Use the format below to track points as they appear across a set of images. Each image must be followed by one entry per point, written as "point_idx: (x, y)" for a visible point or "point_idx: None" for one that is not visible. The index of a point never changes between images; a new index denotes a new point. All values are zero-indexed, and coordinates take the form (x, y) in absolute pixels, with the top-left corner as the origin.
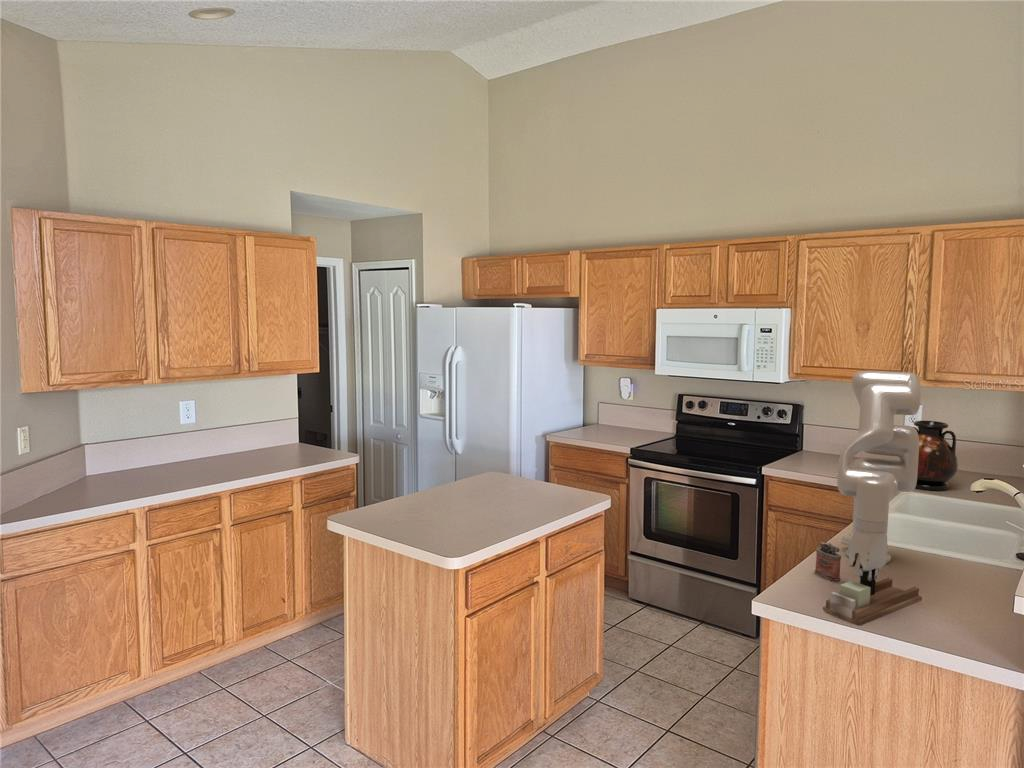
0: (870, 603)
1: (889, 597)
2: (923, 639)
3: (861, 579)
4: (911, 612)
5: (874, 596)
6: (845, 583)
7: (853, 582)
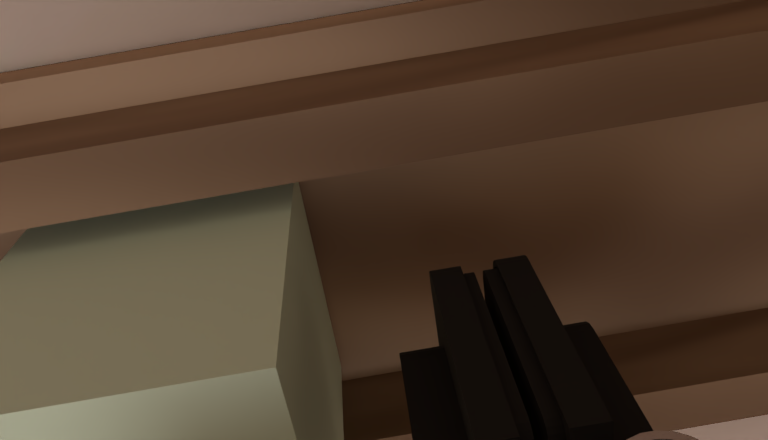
0: (510, 253)
1: (697, 397)
2: None
3: (468, 432)
4: (730, 423)
5: (751, 127)
6: (14, 424)
7: (225, 435)
